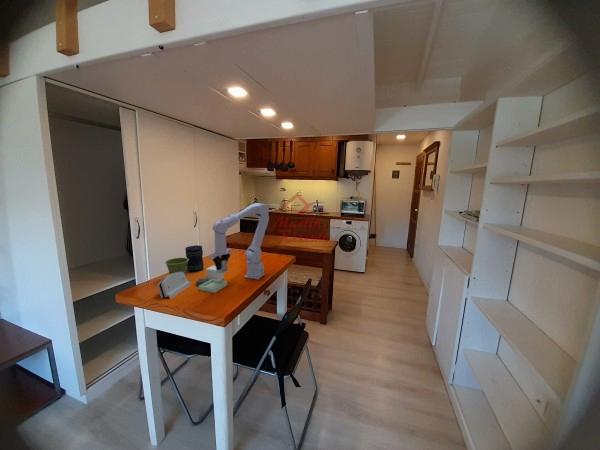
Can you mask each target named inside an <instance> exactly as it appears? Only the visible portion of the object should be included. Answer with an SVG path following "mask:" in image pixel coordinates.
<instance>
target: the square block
mask: <svg viewBox="0 0 600 450" xmlns="http://www.w3.org/2000/svg"><path fill="white" fill-rule="evenodd" d="M207 281H209V278H206V277H204V278H203V277H202V278H198V280H196V281H195V287H199V286H200V285H202V284H204V283H205V282H207Z"/></svg>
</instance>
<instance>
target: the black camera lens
mask: <svg viewBox="0 0 600 450" xmlns="http://www.w3.org/2000/svg"><path fill="white" fill-rule="evenodd" d="M184 248H185V249H184V250H185V258H188V259H189V261H188V263H187V268H186V273H190V274H194V273H199V272H202V271H204V269H205V268H204V265H205V264H204V259H203V258H204V256H203V255H204V253H203V252H204V251H203V246H202V245H190V246H189V245H188V246H186V247H184Z"/></svg>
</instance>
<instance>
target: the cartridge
mask: <svg viewBox="0 0 600 450" xmlns="http://www.w3.org/2000/svg"><path fill="white" fill-rule="evenodd" d="M227 271H228V262H227V260H223V259H222V261H221V270H217V268H216V272H218V273H224V274H225V273H226V272H227Z"/></svg>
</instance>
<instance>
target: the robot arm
mask: <svg viewBox="0 0 600 450" xmlns="http://www.w3.org/2000/svg"><path fill="white" fill-rule="evenodd" d="M269 212H270V209H269V206H268V205H267V204H266V203H258V202H254V203H252V204H249V205H248V206H247V207H246V208H244V209H242V210H240V211H239V212H238V213H236V214H230V213H229V214H227V216H226V217H225V218H223V219H220V221H216V222H214V223H213V226H212V227H211V228H212V230H213V232H214V251H215V252H213V253H212V254H210V255H209V260H212V261H213V262H214V266H216V268H217V270H221V261H222V259H223V260H227V263H228V261H229V258H230V257H231V253H232V249H231V248H227V234H226V233H227V231H228V229H230V228H232V227H234V226H235V225H237V224H238V223H239V220H241V219H244V218H245V217H247V216H249V215H251V214H254V215H256V216H257V219H258V223H257V227H256V229H255V233H254V235H253V239H252V242H251V244H250V245H249V246H248V248H247V249H246V251H245V253H244V257H245V258H246V267H247V268H246V269H247V270H246V273H247V274H246V275H244V278H247V279H253V280H259V279H261V278H262V277H263V276H264V275H265V265H264V263H263V262H261V260H262V250H261V249H262V248H261V246H262V242H263V240H264V237H265V233H266V230H267V226H268V223H269V221H270V218H269V217H270V216H269Z"/></svg>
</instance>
